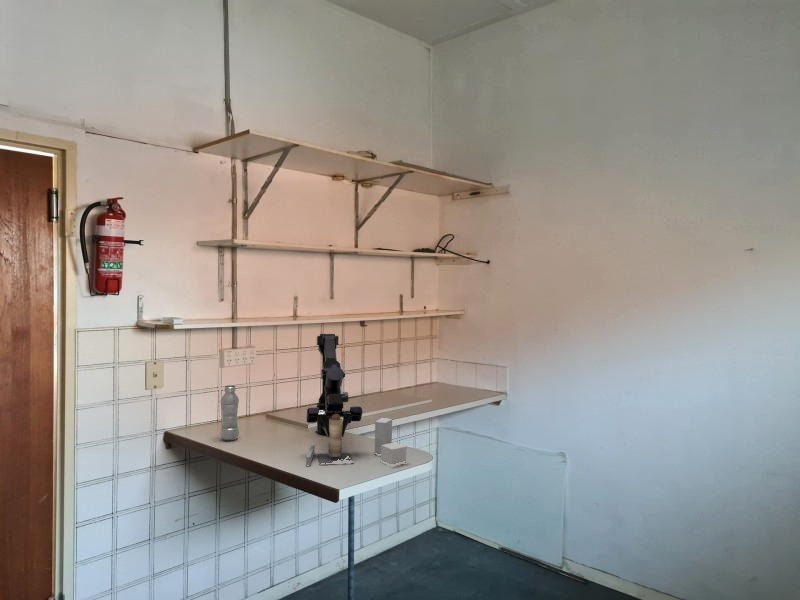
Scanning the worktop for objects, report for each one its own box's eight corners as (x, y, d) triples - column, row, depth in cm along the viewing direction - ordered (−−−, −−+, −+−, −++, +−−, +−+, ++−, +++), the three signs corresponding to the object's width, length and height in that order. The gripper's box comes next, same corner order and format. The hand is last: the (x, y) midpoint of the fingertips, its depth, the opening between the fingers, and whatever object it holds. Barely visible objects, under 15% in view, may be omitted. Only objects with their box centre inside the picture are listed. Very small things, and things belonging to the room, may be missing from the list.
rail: (310, 453, 202) (311, 444, 202) (314, 453, 202) (314, 444, 202) (306, 466, 188) (306, 457, 188) (309, 466, 188) (309, 457, 188)
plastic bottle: (240, 440, 215) (241, 387, 214) (222, 443, 212) (222, 388, 211) (236, 436, 221) (237, 384, 220) (218, 438, 217) (218, 385, 217)
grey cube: (391, 467, 189) (392, 449, 189) (380, 462, 194) (381, 445, 194) (406, 464, 193) (406, 446, 193) (394, 459, 198) (395, 442, 198)
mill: (331, 452, 199) (332, 411, 198) (343, 453, 197) (344, 412, 197) (326, 455, 195) (327, 414, 194) (338, 457, 193) (339, 415, 193)
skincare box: (380, 450, 207) (381, 417, 207) (391, 452, 206) (392, 418, 205) (373, 455, 202) (374, 421, 201) (385, 457, 200) (386, 422, 200)
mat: (317, 455, 200) (317, 454, 200) (349, 453, 203) (349, 452, 202) (319, 465, 189) (319, 464, 189) (353, 464, 192) (353, 462, 192)
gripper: (307, 384, 197) (308, 424, 187) (362, 383, 201) (366, 423, 191) (305, 402, 205) (307, 442, 195) (358, 401, 209) (362, 440, 199)
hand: (335, 436), depth 194 cm, fingers closed on mill, 4 cm apart
